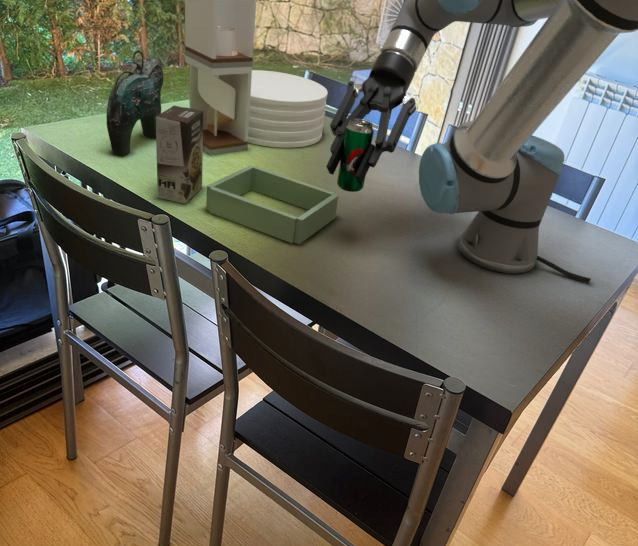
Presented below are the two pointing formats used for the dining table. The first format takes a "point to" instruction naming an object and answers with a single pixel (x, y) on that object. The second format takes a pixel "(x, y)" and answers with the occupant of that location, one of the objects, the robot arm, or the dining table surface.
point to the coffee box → (179, 153)
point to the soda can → (354, 153)
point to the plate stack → (285, 110)
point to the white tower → (221, 69)
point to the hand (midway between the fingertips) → (344, 175)
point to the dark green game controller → (134, 104)
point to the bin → (265, 219)
